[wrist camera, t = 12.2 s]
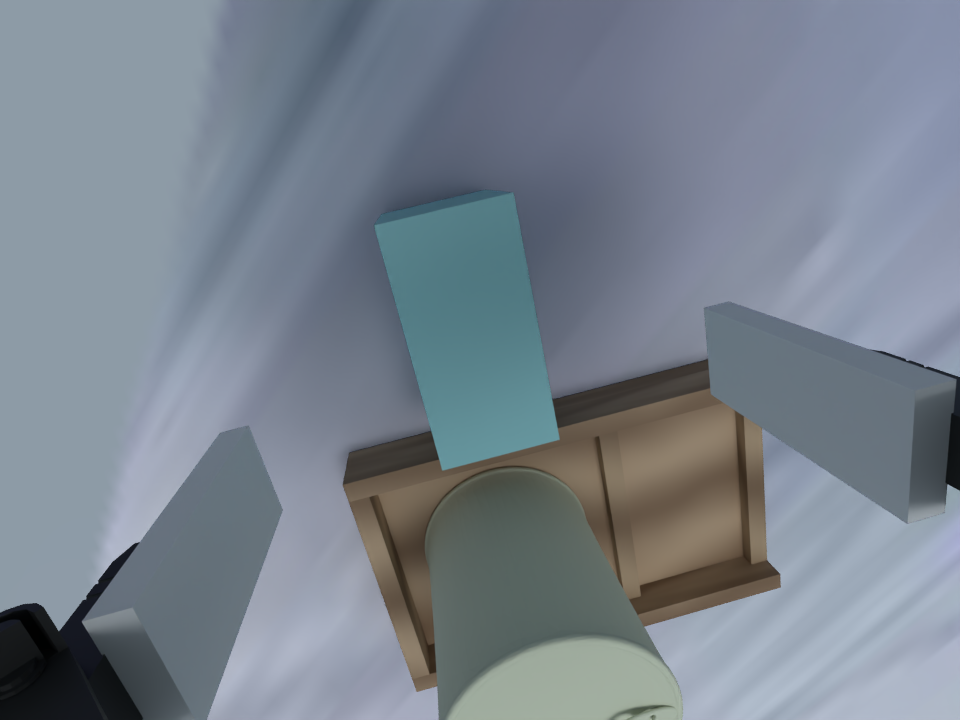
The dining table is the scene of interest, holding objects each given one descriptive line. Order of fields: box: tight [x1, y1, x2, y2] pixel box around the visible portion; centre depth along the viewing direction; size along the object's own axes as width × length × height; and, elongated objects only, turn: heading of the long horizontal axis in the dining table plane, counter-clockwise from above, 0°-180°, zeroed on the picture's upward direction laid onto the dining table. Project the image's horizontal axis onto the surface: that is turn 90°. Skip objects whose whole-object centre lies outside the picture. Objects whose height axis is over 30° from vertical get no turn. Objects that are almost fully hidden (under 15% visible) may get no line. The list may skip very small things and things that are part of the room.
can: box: [425, 467, 683, 720], centre depth 24 cm, size 9×9×12 cm
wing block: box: [374, 190, 560, 471], centre depth 23 cm, size 10×5×7 cm, turn 13°
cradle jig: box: [343, 360, 781, 692], centre depth 30 cm, size 14×22×3 cm, turn 102°
